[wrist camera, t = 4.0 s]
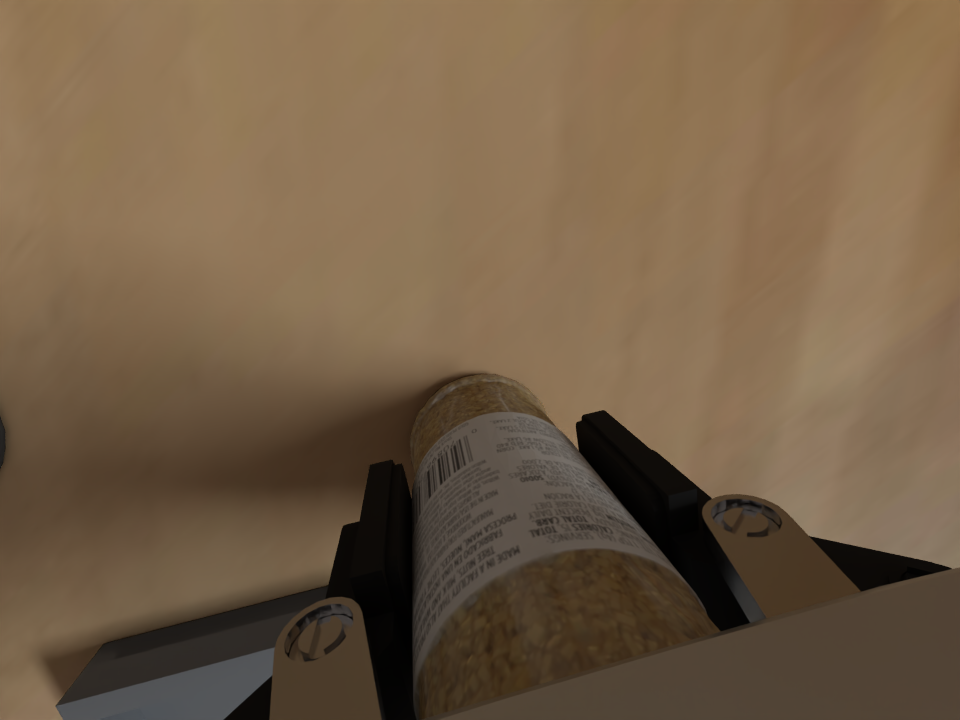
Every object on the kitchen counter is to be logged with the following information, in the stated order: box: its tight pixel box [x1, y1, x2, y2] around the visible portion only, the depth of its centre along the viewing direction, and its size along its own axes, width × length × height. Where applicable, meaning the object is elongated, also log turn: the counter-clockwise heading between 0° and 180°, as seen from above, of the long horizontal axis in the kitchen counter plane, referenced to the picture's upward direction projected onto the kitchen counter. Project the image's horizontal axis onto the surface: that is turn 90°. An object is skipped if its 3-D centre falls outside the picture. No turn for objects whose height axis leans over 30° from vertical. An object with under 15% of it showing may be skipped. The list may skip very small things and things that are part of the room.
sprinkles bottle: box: [410, 374, 720, 720], centre depth 8 cm, size 5×5×13 cm
